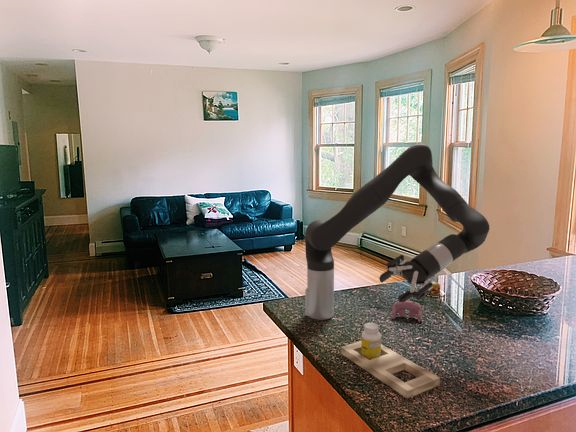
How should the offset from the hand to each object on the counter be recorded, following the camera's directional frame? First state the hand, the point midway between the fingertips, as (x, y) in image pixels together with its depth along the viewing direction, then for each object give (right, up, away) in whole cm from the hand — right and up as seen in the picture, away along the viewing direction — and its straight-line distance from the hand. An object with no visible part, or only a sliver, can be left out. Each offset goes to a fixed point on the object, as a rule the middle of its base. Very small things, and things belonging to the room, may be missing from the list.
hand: (389, 290), depth 128 cm
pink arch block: (+11, -14, +22) cm, 28 cm away
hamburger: (+28, -10, +46) cm, 54 cm away
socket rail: (-3, -19, -10) cm, 22 cm away
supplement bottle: (-6, -19, -5) cm, 20 cm away
